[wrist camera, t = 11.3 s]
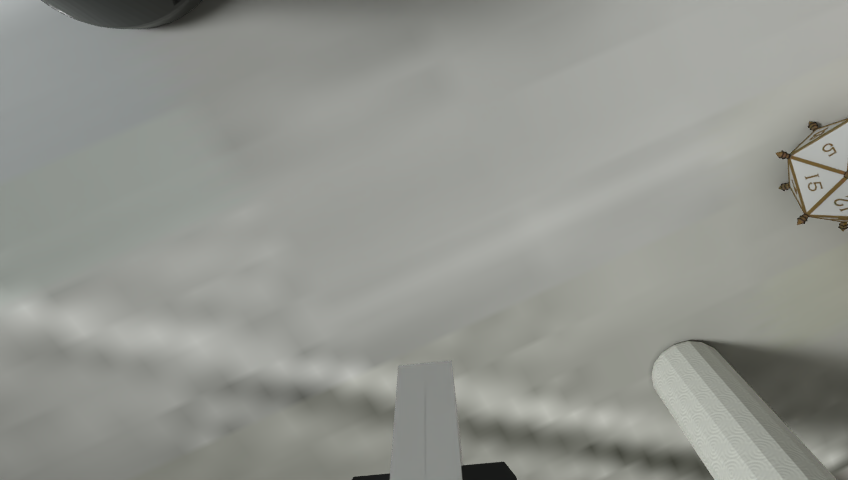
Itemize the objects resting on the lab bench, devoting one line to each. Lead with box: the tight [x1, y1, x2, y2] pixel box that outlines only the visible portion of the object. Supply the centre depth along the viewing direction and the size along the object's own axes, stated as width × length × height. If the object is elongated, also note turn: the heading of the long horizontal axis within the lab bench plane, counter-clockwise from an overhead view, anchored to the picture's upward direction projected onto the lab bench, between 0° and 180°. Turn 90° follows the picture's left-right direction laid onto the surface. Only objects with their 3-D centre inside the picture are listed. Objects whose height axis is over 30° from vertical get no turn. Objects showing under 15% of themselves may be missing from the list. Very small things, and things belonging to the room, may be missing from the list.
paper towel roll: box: [652, 341, 837, 480], centre depth 39 cm, size 7×6×21 cm
